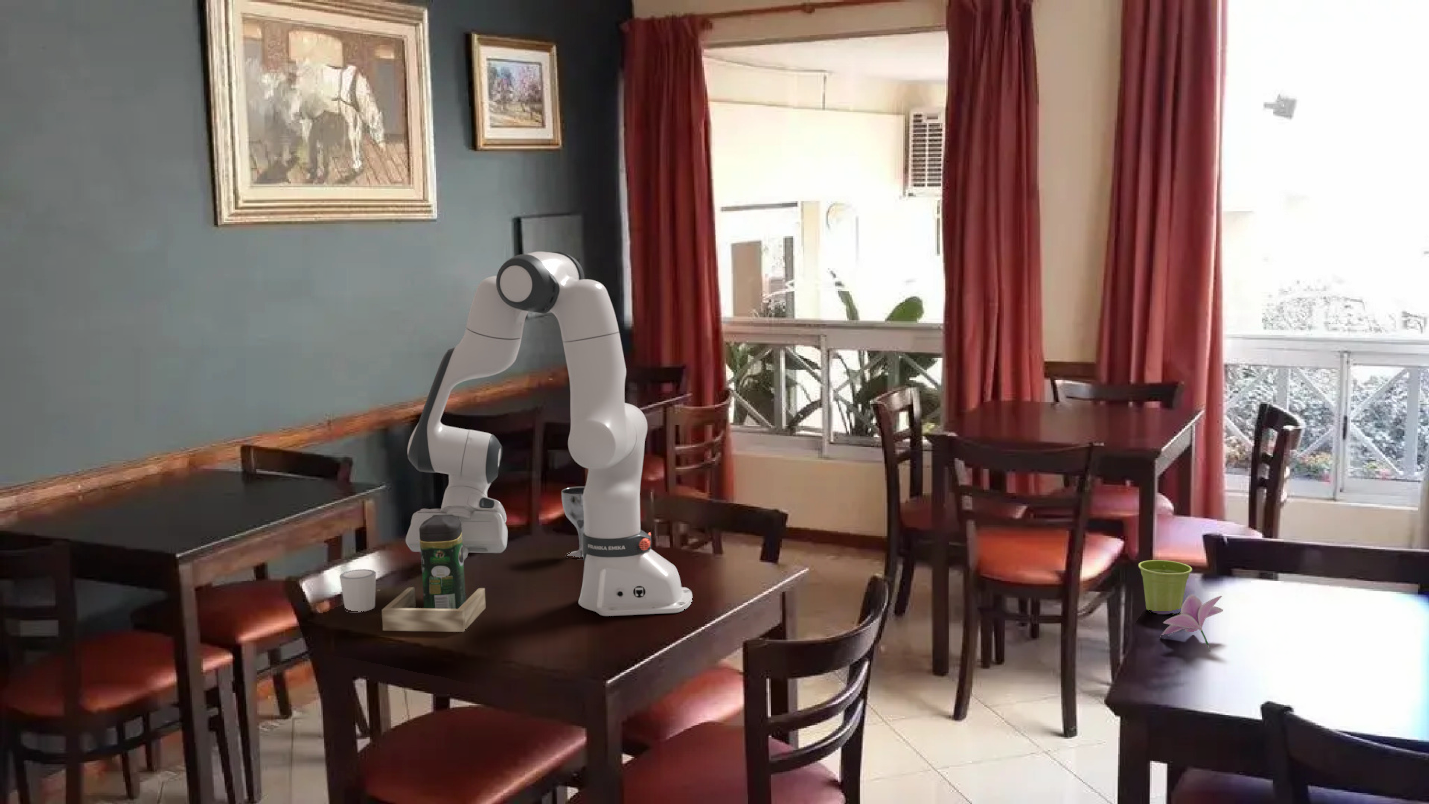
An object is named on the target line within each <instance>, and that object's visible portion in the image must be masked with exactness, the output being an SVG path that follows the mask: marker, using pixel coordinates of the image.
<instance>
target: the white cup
mask: <svg viewBox="0 0 1429 804" xmlns="http://www.w3.org/2000/svg"><path fill="white" fill-rule="evenodd" d="M376 575H377V572H376V571H375V570H373V569H361V568H360V569H353V570H348V571H345V572H342V573H340V575H339V580H340V586H341V593H342V598H343V605H344V609H345V608H346V609H348V610H351V611H358V612H357V613H362V612H363V611H364V612H367V611H370V610H372V609H375V607H376V582H377V580H376V579H377V577H376ZM361 611H362V612H361ZM364 612H363V613H364Z"/></svg>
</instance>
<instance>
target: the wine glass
mask: <svg viewBox="0 0 1429 804" xmlns="http://www.w3.org/2000/svg"><path fill="white" fill-rule="evenodd" d="M585 486H586V485H584V486H580V485H579V486H571V487H567V488H564V489H562V490H561V502H562V503H561V504H562V508H563V511H564V514H565V516H566V518H567V519H568V520H569V521H570V522H571V524H573V525H574V527H575V528H576V531H577V534H578V540H579V548H578V550H574V551H571V553H570V552H569V553H570V554H568V553H567V554H568V555H567V556H573V557H574V556H575V557H579V558H580V557H583V556H582V534H583V533H584V508H583V493H584V489H585Z"/></svg>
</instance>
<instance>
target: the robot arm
mask: <svg viewBox="0 0 1429 804" xmlns="http://www.w3.org/2000/svg"><path fill="white" fill-rule="evenodd" d="M477 285H478V286H477V288H476V290H475V293H474V296H473V299H472V302H471V304H470V305H471V306H470V309H469V313H468V316H467V319H466V327H465V331H464V334H463V337H462V338H461V340H460V342H459V343H458V344H457V345H456V346H455V347H452V348H448V349H447V350H446V352H445V354H444V355H443V357H442V359H441V360H440V363H439V366H438V368H437V371H436V373H435V376H434V378H433V381H432V385H431V387H430V390H429V393H428V396H427V398H426V401H425V404H424V406H423V409H422V412H421V415H420V417H419V421H418V423H417V425H416V426H415V427H414V429H413V431H412V433H411V435H410V438H409V440H408V444H407V450H406V451H407V459H408V460H409V462H410V463H411V465H412V466H413V467H414V468H415V469H416V470H417V471H419V472H424V473H434V474H436V473H440V474H445V475H448V485H447V487H446V488H445V491H444V494H443V499H442V503H441V506H440V507H441V508H431V509H429V508H421V509H420V510H417V511H416V512H414V513H413V514H412V516H411V520H410V526H409V528H408V531H407V534H406V536H405V544H406V545H407V547H408V548H409V550H410V551H411V552H415V553H416V552H419V553H421V549H420V533H419V528H420V526H421V524H422V523H423V522H424V521H426V520H427V519H429V518H431V517H432V516H433V515H448V514H452V515H454V516H455V517H457V518H458V519H460V521H461V524H462V525H461V527H462V544H463V562H464V561H465V560H466V558H467V557H468V554H469V553H476V554H477V553H481V554H482V553H484V554H485V553H487V554H490V553H491V554H492V553H493V554H501V553H503V552H504V551H505V550H506V549H507V544H508V537H509V536H508V533H509V532H508V527H507V524H506V522H507V520H508V519H507V517H508V516H507V514H506V511H505V508H504V506H503V504H502V503H501V502H500V501H499V500H497V499H494V498H491V497H488V490H489V488H490V486H491V485H492V483H493V482H494V481H495V480H496V479H497V478H498V476H499V468H500V464H501V461H502V457H503V446H502V444H501V442H500V441H499V439H498V438H497V437H496V436H495V435H494V434H493V433H492V434H491V433H489V432H484V431H480V430H474V429H465V428H461V427H460V428H459V427H456V426H449V425H445V424H443V423H442V422H441V419H442V416H443V414H444V412H445V411H444V410H445V409H446V407H447V402H448V400H449V397H450V394H451V392H452V390H453V389H454V388H455V387H456V386H457V385H459V384H460V383H461V384H462V383H463V382H465V381H470V380H475V379H481V378H488V377H491V376H495V375H498V374H500V373H502V372H504V371H506V370H507V369H509V368H511V367H512V365H513V364H514V363H515V362H516V360H517V357H518V354H519V351H520V348H521V343H522V337H523V332H524V326H525V322H526V321H525V320H526V318H527V315H528V314H529V312H531V313H537V314H542V315H543V314H547V313H549V312H550V313H552V314H553V315H554V316H555V317H556V319H557V322H558V325H559V329H560V333H561V340H562V345H563V350H564V356H565V357H564V358H565V362H566V368H567V373H568V378H569V379H568V380H569V390H570V391H569V392H570V398H569V399H570V402H569V403H570V407H569V408H570V410H569V411H570V413H569V414H570V431H569V435H568V440H567V447H568V451H569V453H570V456H571V458H572V459H573V460H574V462H575V463H577V464H578V465H579V466H580V467H582V468H584V469H585V468H586V469H587V470H588V472H587V477H586V483H585V485H584V486H585V489H584V493H583V508H584V533H583V534H582V556H583V559H582V560H583V562H584V564H583V565H584V566H583V575H582V576H583V577H582V584H581V585H582V586H581V589H580V594H579V595H580V596H579V598H578V605H579V606H581V607H582V608H584V609H585V610H589V611H593V612H596V613H597V615H598V614H599V615H600V616H603V617H609V616H610V617H611V616H612V617H614V616H634V615H636V616H637V615H655V614H657V615H658V614H659V615H660V614H677V613H680V612H683V611H685V610H686V609H688V608H689V607H690V605H691V604H692V603H691V602H693V600H692V598H693V592H692V590H691V589H689V588H688V587H685V586H684V587H683V586H682V583H681V577H680V575H679V572H678V569H677V567H676V566H675V565H674V564H673V563H671V562H670V561H669V560H667V559H666V558H664V557H663V556H661V555H660V554H659V553H657V552H656V551H655V550H653V549H652V534H651V533H652V532H651V531H650V532H648V533H647V532H645V531H644V530H642V529H641V495H640V493H641V483H642V482H641V481H642V475H643V466H644V458H645V457H644V456H645V446H646V445H645V441H646V438H647V434H648V421H647V418H646V416H645V414H644V413H643V411H642V410H641V409H640V408H638V407H637V406H635V405H633V404H630V403H628V402H626V399H625V396H626V395H625V393H626V392H625V388H626V387H625V386H626V377H627V368H626V367H627V366H626V361H625V357H624V350H623V344H622V340H621V333H620V329H619V324H618V321H617V317H616V312H615V309H614V306H613V303H612V301H611V298H610V295H609V292H608V290H607V288H606V287H605V286H604V284H603V283H601V282H599V281H596V280H594V279H588V278H587V279H586V278H585V273H584V270H583V267H582V265H581V264H580V263H579V261H578V260H577V259H576V258H575V257H573V256H572V255H570V254H568V253H564V252H561V251H552V252H551V251H550V252H549V251H534V252H533V251H532V252H528V253H522V254H517V255H515V256H512V257H511V258H509V259H507V260H506V261H505V262H504V263H503V264H502V265H501V266H500V268H499V269H498V271H497V274H496V275H493V276H488V277H486V278H484V279H483V280H481V281H480V283H479V284H477ZM693 599H694V598H693ZM684 609H685V610H684Z"/></svg>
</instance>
